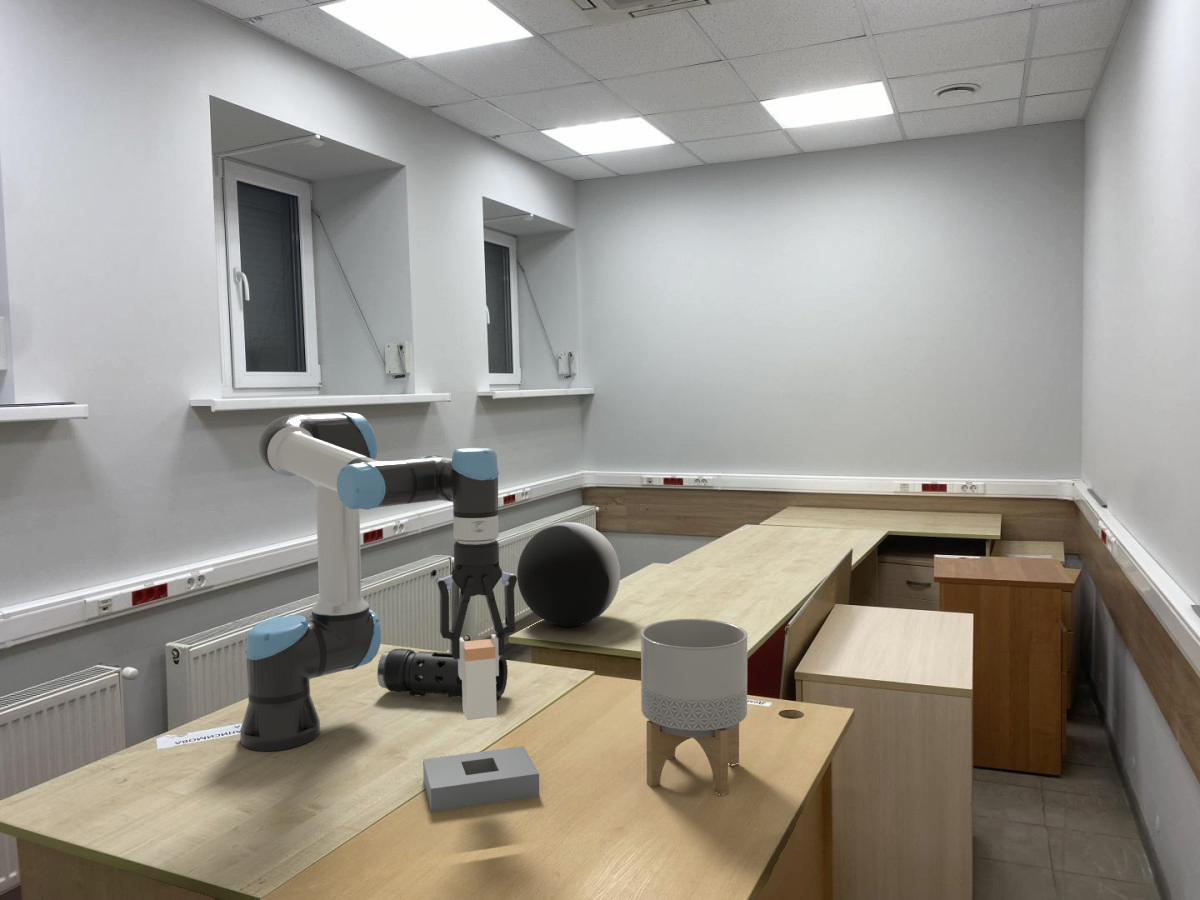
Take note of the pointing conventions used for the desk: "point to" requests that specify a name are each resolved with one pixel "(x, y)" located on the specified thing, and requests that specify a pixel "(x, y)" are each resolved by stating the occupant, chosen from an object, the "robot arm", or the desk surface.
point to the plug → (479, 680)
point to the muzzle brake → (427, 673)
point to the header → (479, 778)
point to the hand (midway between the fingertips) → (478, 674)
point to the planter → (693, 692)
